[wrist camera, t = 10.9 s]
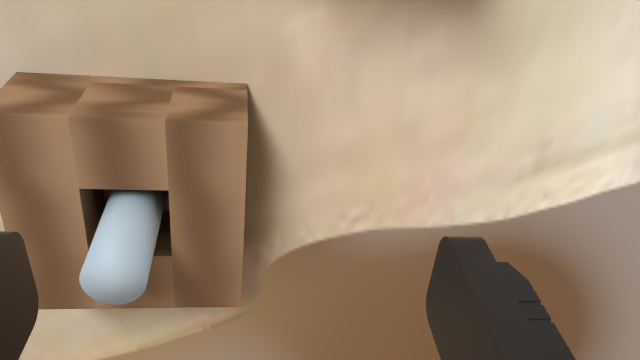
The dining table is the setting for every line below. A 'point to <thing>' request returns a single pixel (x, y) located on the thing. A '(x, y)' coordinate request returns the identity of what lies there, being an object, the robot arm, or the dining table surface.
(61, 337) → the dining table surface
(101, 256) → the dowel
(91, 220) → the socket block
